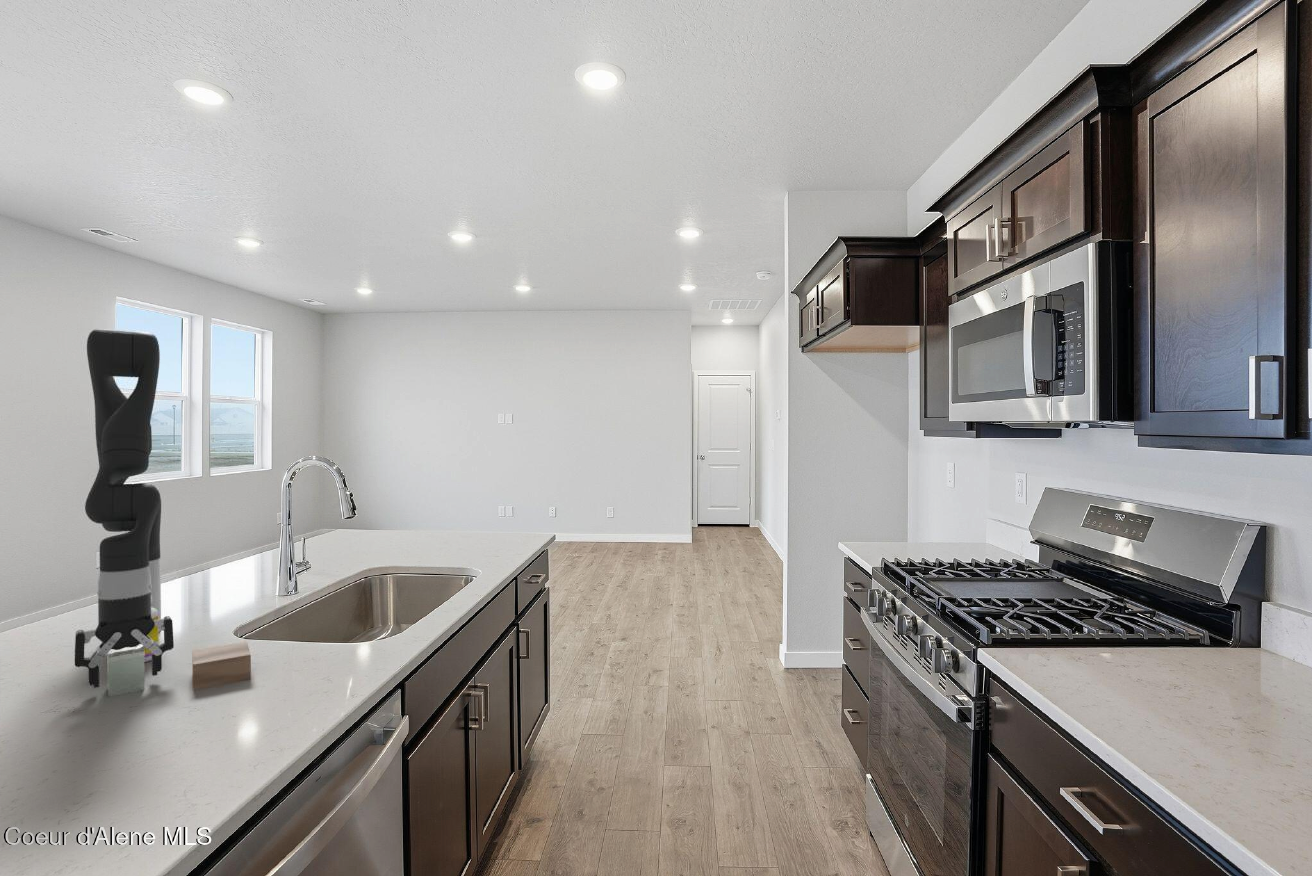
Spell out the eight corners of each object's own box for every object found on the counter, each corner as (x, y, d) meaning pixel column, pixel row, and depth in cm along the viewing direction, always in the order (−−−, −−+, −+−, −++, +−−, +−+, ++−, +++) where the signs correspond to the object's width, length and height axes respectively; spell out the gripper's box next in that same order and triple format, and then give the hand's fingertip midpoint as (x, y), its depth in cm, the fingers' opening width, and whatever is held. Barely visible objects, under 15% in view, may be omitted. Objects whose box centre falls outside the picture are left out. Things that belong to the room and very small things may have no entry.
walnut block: (192, 675, 126) (192, 650, 126) (247, 666, 131) (246, 641, 131) (193, 691, 119) (192, 664, 119) (250, 680, 124) (250, 654, 124)
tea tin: (106, 688, 120) (106, 650, 119) (142, 680, 123) (142, 643, 123) (108, 697, 116) (108, 657, 116) (145, 689, 119) (145, 650, 119)
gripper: (170, 582, 127) (171, 665, 127) (72, 595, 117) (73, 684, 117) (175, 589, 121) (176, 676, 121) (73, 603, 111) (74, 697, 112)
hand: (126, 680), depth 119 cm, fingers open, 8 cm apart
